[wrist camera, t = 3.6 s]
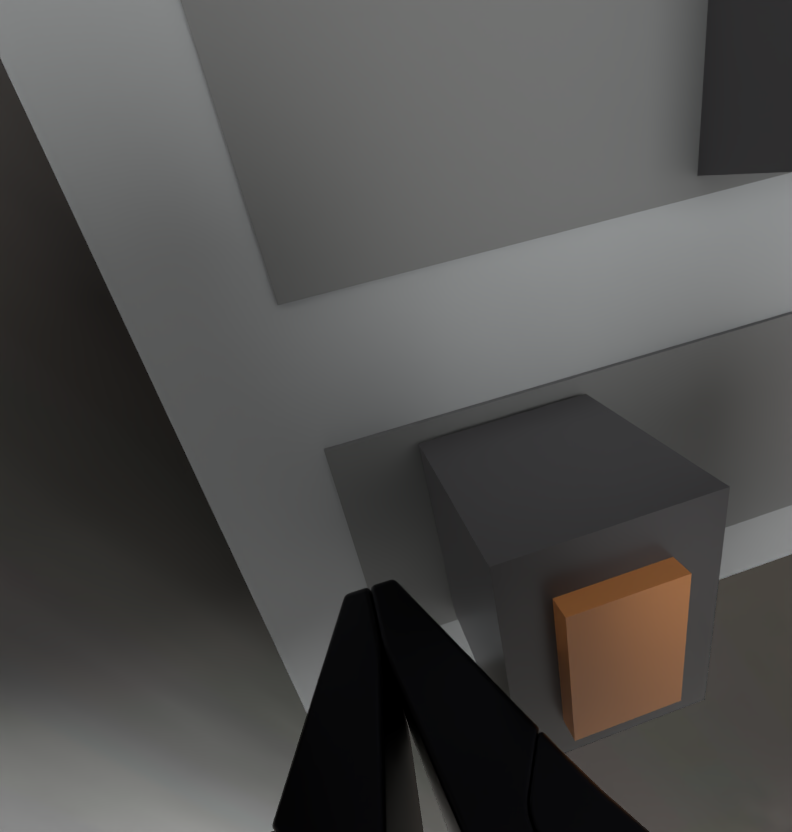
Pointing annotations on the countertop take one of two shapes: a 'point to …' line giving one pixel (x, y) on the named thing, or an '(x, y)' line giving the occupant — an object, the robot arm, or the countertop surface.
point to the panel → (427, 251)
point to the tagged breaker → (580, 564)
